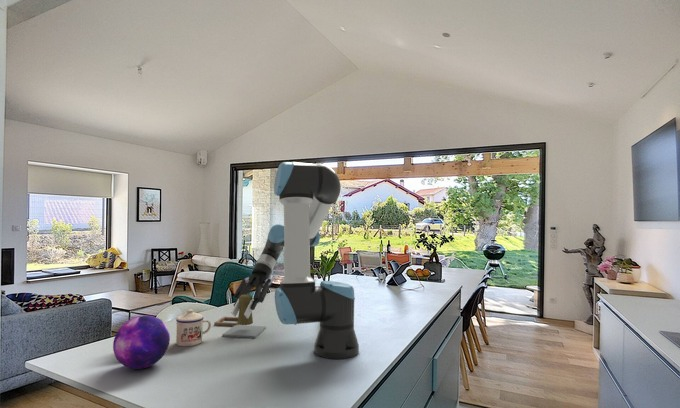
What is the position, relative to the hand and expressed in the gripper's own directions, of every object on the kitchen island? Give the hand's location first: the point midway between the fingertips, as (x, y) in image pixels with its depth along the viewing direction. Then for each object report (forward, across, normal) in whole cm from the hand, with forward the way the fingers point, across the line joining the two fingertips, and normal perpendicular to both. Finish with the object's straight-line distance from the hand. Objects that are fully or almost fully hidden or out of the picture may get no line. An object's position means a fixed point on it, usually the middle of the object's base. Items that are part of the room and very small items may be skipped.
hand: (239, 315), depth 147 cm
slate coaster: (+3, 0, -8) cm, 8 cm away
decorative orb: (+32, +7, +22) cm, 39 cm away
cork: (0, 0, -6) cm, 6 cm away
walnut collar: (-3, +14, -14) cm, 20 cm away
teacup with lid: (+15, +10, +4) cm, 18 cm away
